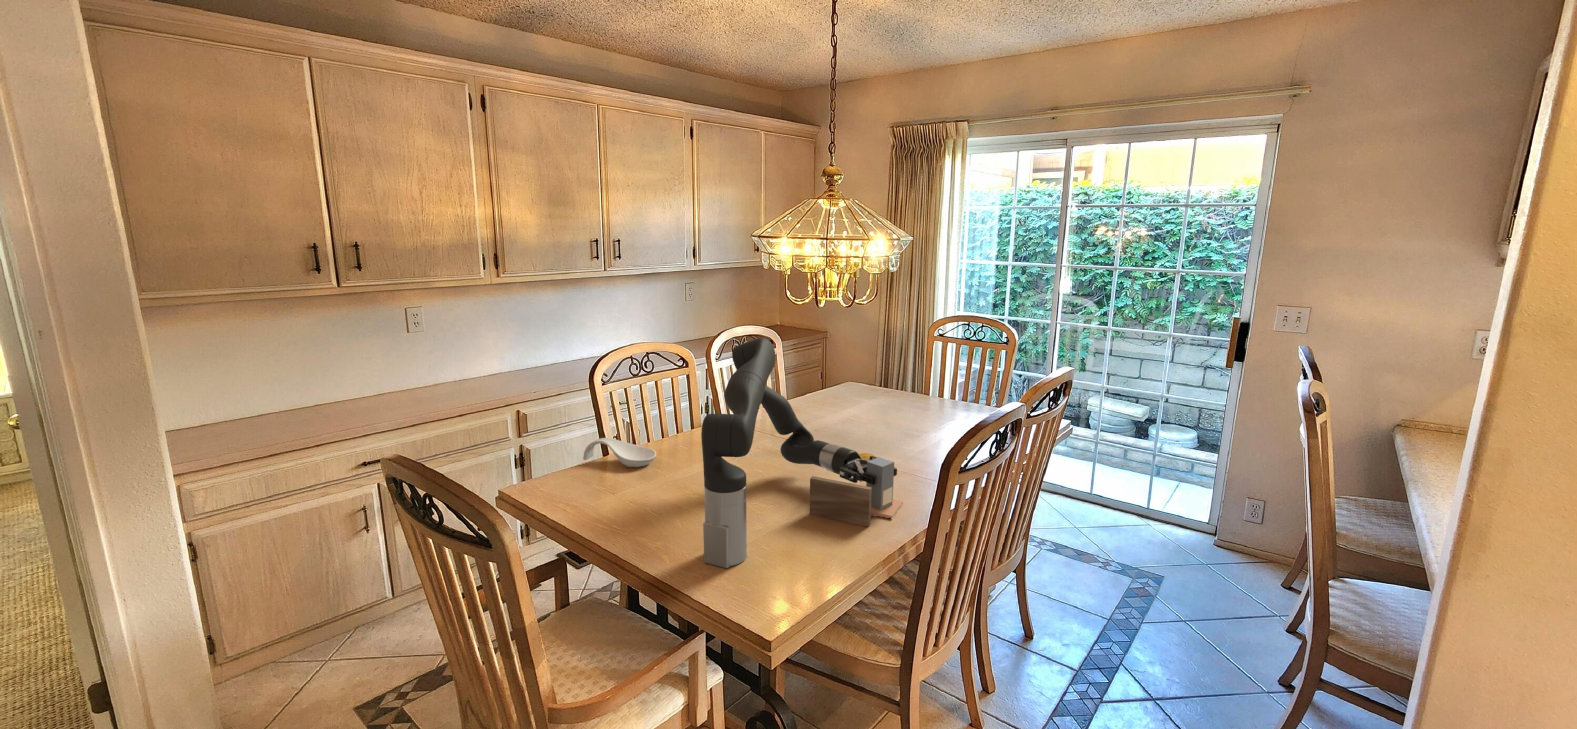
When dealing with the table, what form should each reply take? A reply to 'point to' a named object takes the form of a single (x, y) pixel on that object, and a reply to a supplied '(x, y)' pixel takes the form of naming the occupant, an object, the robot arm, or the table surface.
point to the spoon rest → (624, 452)
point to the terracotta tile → (887, 509)
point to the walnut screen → (840, 501)
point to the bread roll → (865, 455)
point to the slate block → (881, 482)
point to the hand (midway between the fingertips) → (886, 476)
